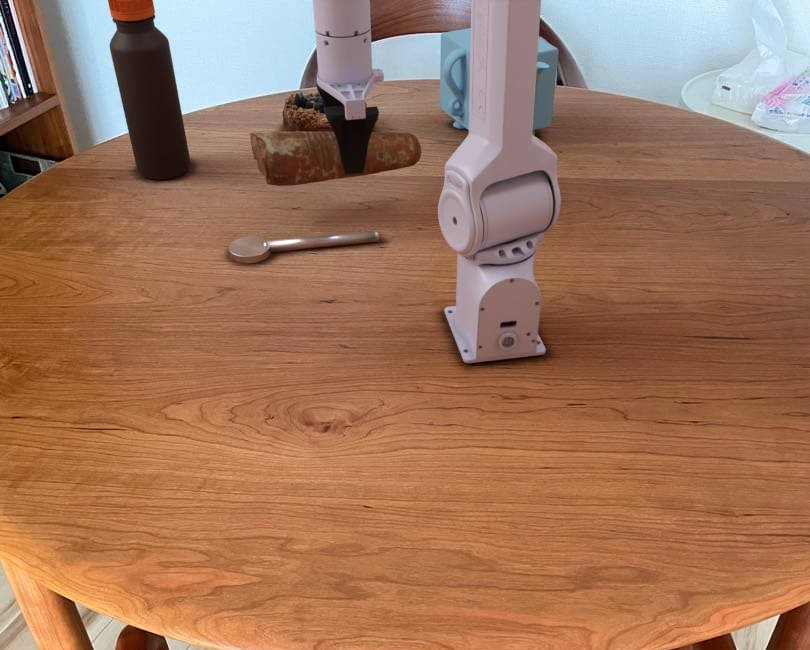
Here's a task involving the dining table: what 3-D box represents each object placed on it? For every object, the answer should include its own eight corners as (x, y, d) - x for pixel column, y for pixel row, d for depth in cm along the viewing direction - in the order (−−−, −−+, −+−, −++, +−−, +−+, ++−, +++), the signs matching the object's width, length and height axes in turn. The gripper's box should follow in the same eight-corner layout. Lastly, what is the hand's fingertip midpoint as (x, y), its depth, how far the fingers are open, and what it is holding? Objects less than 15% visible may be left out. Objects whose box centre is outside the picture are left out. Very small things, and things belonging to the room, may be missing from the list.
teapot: (422, 123, 125) (423, 19, 116) (520, 103, 130) (528, 2, 121) (484, 174, 114) (490, 64, 105) (590, 150, 118) (604, 43, 109)
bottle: (175, 184, 113) (139, 4, 99) (127, 176, 115) (85, -1, 100) (200, 162, 117) (170, -13, 103) (154, 155, 119) (118, -18, 105)
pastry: (277, 123, 126) (272, 79, 122) (360, 112, 128) (358, 68, 124) (294, 155, 119) (289, 108, 114) (382, 143, 121) (381, 97, 117)
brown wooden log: (253, 172, 104) (247, 123, 100) (414, 154, 107) (415, 106, 103) (261, 200, 100) (255, 150, 96) (428, 180, 103) (429, 132, 99)
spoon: (383, 250, 101) (383, 240, 100) (230, 265, 99) (229, 255, 98) (377, 231, 104) (376, 221, 103) (228, 245, 102) (227, 235, 101)
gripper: (393, 49, 88) (396, 185, 98) (370, 4, 98) (375, 132, 108) (321, 54, 87) (331, 191, 97) (305, 9, 97) (316, 137, 107)
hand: (350, 161), depth 102 cm, fingers closed on brown wooden log, 5 cm apart
